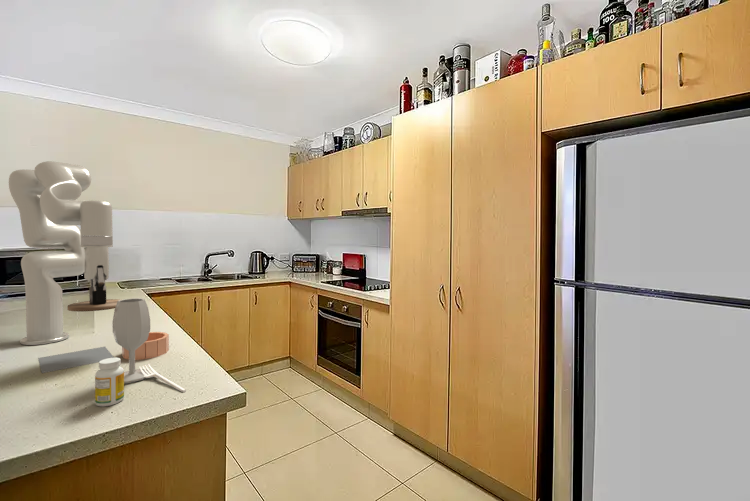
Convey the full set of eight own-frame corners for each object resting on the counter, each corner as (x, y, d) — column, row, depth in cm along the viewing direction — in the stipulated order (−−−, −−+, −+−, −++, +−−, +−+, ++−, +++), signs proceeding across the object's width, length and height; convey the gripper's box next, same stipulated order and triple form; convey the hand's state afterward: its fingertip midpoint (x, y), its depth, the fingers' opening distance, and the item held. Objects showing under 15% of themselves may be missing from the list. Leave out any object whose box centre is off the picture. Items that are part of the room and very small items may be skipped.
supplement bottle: (98, 409, 78) (98, 366, 77) (92, 401, 81) (91, 360, 81) (127, 401, 82) (127, 360, 81) (120, 394, 85) (120, 354, 85)
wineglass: (158, 375, 97) (158, 299, 96) (125, 387, 89) (124, 304, 88) (138, 369, 101) (137, 296, 100) (104, 380, 93) (103, 301, 92)
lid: (65, 306, 107) (64, 286, 106) (121, 300, 117) (121, 282, 116) (69, 313, 97) (69, 291, 97) (131, 307, 107) (130, 287, 106)
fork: (177, 395, 86) (178, 388, 86) (137, 373, 96) (137, 366, 96) (190, 391, 88) (191, 383, 88) (149, 369, 99) (150, 363, 99)
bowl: (118, 355, 112) (118, 336, 111) (161, 347, 120) (161, 329, 120) (128, 365, 103) (127, 345, 103) (173, 356, 112) (173, 337, 112)
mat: (38, 361, 106) (38, 357, 105) (105, 349, 117) (105, 346, 117) (42, 376, 94) (41, 373, 94) (115, 362, 106) (115, 358, 106)
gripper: (77, 241, 109) (78, 300, 110) (84, 242, 97) (85, 308, 98) (107, 241, 115) (108, 298, 115) (117, 242, 103) (118, 305, 103)
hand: (98, 302), depth 107 cm, fingers closed on lid, 4 cm apart
